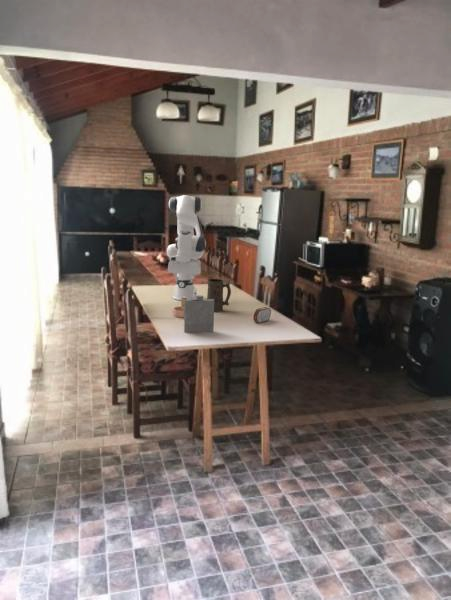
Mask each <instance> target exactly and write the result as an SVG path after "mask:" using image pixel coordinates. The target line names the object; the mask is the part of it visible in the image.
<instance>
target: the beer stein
mask: <svg viewBox="0 0 451 600" xmlns="http://www.w3.org/2000/svg"><path fill="white" fill-rule="evenodd" d="M230 285H231V284H230V282H226V283H224V281H223V279H219V278H218V279H216V278H209V279H207V295H206V296H207V297H206V299H214V313H218V312H219V313H220V312H223V311H224V309H223V307H224V306H227V307H228V306H229V304H230V303H229V300H230V297H231V294H232V291H231V290H232V289H231V287H230ZM224 288H226V289H227V293H226V294H227V295H226V298H225V300H224Z"/></svg>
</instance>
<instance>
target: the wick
mask: <svg viewBox="0 0 451 600" xmlns="http://www.w3.org/2000/svg"><path fill="white" fill-rule="evenodd" d="M185 300H187V297H182V299H181V300H180V301H181V305H180V306H181V311H185Z"/></svg>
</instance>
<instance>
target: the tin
mask: <svg viewBox="0 0 451 600" xmlns="http://www.w3.org/2000/svg"><path fill="white" fill-rule="evenodd" d="M271 313H272V309H271V308H270V307H268V306H264V307H259V308H257V309H255V311H254V312H253V318H252V319H253V321H254V322H255V323H258V324H259V323H263V322H264V323H265V322H267V321H269V319H270V318H271Z"/></svg>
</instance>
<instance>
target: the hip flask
mask: <svg viewBox="0 0 451 600" xmlns="http://www.w3.org/2000/svg"><path fill="white" fill-rule="evenodd" d="M214 316H215V312H214V299H207V298H206V299H205V298H204V295H202V294H198V295H197V299H190V300H185V315H184V318H183V320H184V324H183V327H184V328H183V333H187V334H189V333H190V334H194V333H195V334H199V333H200V334H201V333H204V332H206V333H214V325H215V324H214V323H215V322H214V321H215V317H214Z"/></svg>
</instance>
